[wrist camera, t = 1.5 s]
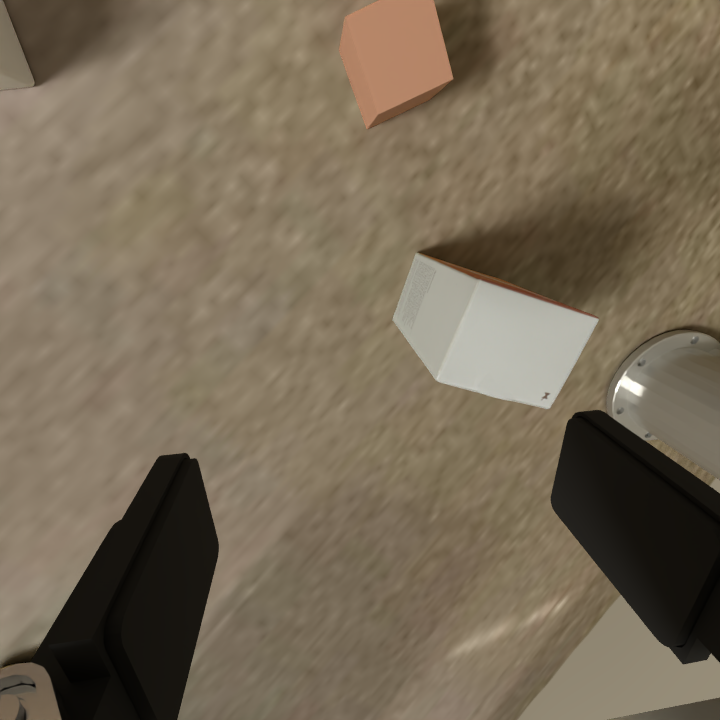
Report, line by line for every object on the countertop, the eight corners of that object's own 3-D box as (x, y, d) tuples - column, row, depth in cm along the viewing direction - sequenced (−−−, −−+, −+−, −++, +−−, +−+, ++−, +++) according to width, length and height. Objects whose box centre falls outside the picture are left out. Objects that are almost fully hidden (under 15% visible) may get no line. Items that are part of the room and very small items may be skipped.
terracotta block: (406, 17, 25) (427, -24, 20) (429, 100, 27) (453, 78, 22) (338, 50, 25) (344, 16, 21) (366, 129, 27) (377, 114, 23)
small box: (498, 276, 33) (604, 318, 21) (469, 341, 35) (551, 413, 23) (414, 249, 31) (479, 277, 19) (389, 319, 33) (434, 384, 21)
